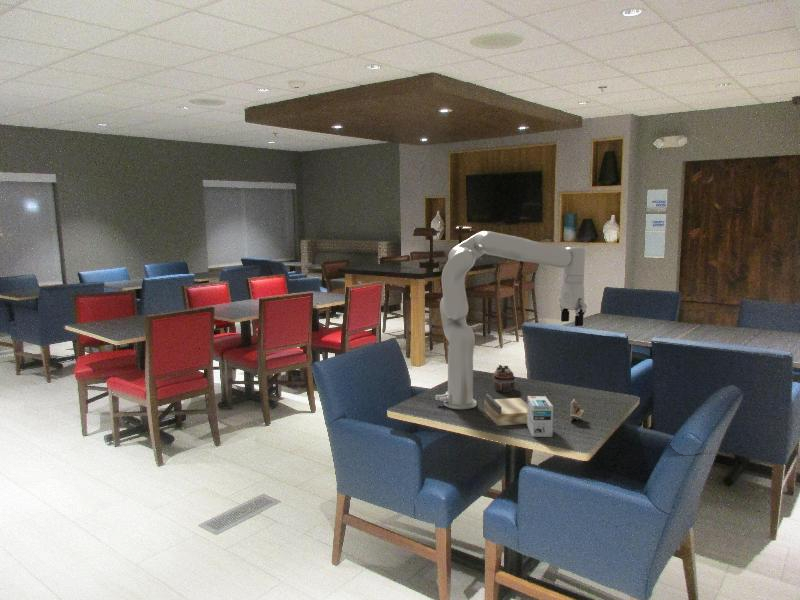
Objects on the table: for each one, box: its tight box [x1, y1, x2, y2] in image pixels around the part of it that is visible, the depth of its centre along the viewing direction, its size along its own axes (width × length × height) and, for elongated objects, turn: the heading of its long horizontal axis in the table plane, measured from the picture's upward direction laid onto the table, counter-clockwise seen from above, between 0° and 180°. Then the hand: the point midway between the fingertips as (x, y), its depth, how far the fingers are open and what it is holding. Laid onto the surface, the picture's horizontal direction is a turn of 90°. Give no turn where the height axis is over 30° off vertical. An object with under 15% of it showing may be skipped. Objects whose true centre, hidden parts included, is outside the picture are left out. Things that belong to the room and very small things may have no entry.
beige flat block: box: [483, 393, 527, 426], centre depth 211 cm, size 14×16×6 cm
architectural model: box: [569, 398, 585, 423], centre depth 206 cm, size 3×7×7 cm, turn 151°
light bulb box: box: [526, 395, 554, 438], centre depth 196 cm, size 11×7×11 cm, turn 179°
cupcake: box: [491, 364, 517, 393], centre depth 243 cm, size 10×10×10 cm
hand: (571, 323), depth 225 cm, fingers open, 9 cm apart
